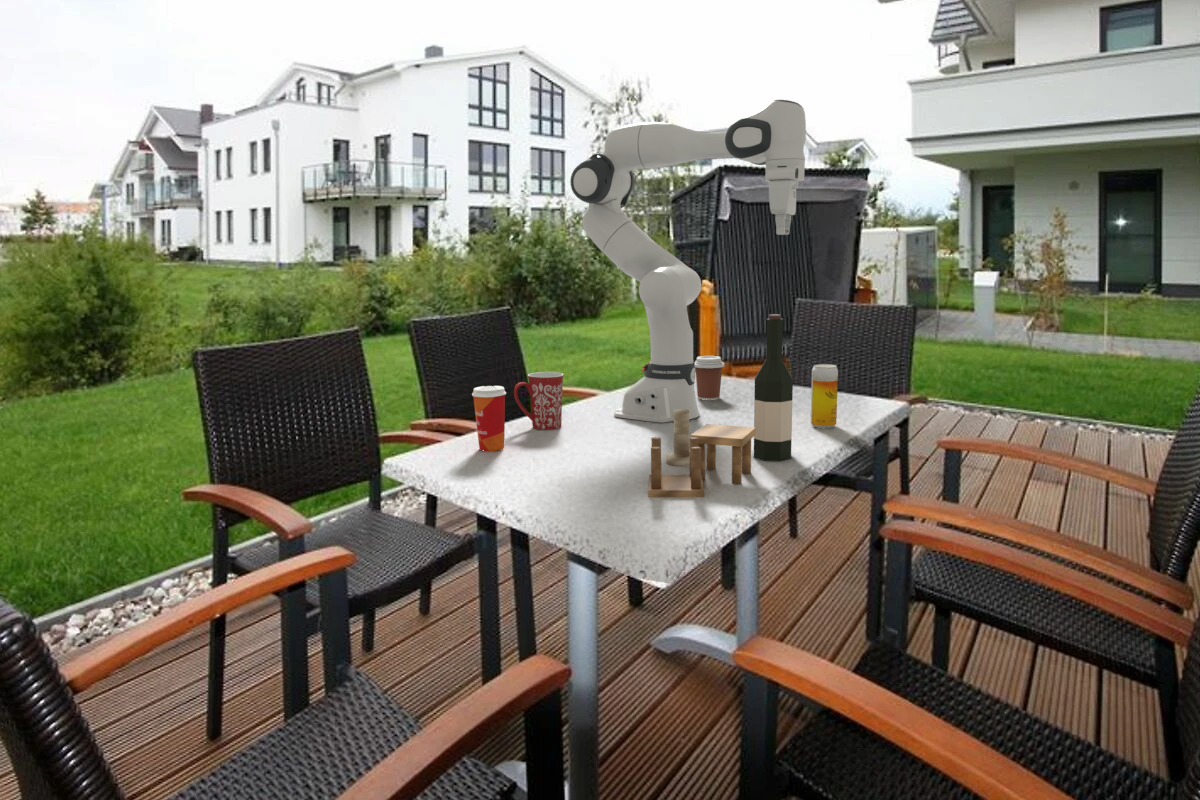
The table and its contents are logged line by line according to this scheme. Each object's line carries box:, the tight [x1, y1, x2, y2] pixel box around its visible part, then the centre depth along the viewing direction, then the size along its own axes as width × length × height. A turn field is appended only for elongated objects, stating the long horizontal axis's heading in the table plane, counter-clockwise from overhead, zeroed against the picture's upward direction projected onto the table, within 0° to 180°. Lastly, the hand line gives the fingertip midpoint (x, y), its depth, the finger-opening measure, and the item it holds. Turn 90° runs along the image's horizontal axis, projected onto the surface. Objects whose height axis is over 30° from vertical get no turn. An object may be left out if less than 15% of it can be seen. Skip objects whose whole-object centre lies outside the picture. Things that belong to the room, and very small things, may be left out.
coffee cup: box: [693, 355, 725, 401], centre depth 235 cm, size 9×9×12 cm
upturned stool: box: [647, 436, 705, 498], centre depth 150 cm, size 10×10×9 cm
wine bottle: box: [753, 313, 794, 462], centre depth 169 cm, size 8×8×30 cm
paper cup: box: [471, 385, 507, 452], centre depth 182 cm, size 8×8×14 cm
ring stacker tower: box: [665, 409, 690, 467], centre depth 168 cm, size 7×7×11 cm
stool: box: [690, 423, 756, 485], centre depth 158 cm, size 10×10×9 cm
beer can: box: [810, 363, 839, 429], centre depth 196 cm, size 6×6×15 cm
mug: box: [513, 371, 564, 431], centre depth 203 cm, size 13×9×14 cm
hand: (782, 234), depth 190 cm, fingers open, 8 cm apart
